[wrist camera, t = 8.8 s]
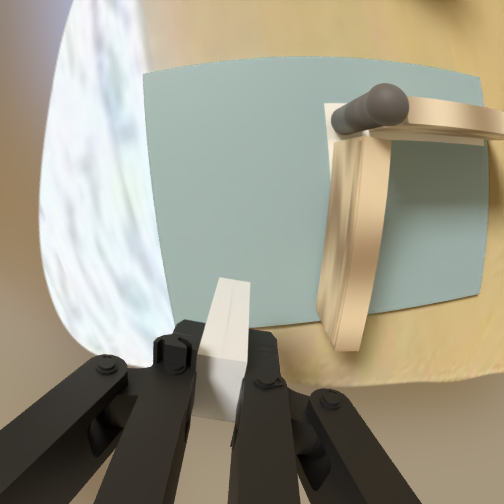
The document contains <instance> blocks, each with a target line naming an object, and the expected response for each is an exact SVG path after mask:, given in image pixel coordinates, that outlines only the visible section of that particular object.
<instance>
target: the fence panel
mask: <svg viewBox="0 0 504 504" xmlns="http://www.w3.org/2000/svg"><path fill="white" fill-rule="evenodd" d="M391 142H392V141H391V140H386V139H380V138H375V137H369V136H361V137H356V138H351V139H347V140H342V141H337V142H334V145H333V159H332V171H331V183H330V194H329V204H328V214H327V223H326V232H325V241H324V249H323V257H322V265H321V272H320V280H319V287H318V294H317V301H316V307H315V308H316V311H317V313H318V315H319V317H320V320H321V322H322V324H323V326H324V329H325V331H326V333H327V335H328V338H329V340H330V342H331V344H332V347H333V349H334V351H335V352H336V351H359V348H360V344H361V339H362V335H363V331H364V327H365V322H366V318H367V313H368V309H369V304H370V299H371V294H372V289H373V284H374V279H375V273H376V268H377V262H378V256H379V250H380V244H381V237H382V230H383V223H384V216H385V208H386V199H387V190H388V180H389V169H390V157H391Z"/></svg>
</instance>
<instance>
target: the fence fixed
mask: <svg viewBox="0 0 504 504" xmlns="http://www.w3.org/2000/svg"><path fill="white" fill-rule="evenodd" d="M331 124H332V127H333V128H334V130H335V131H336V132H338V133H339V134H342V135H349V134H353V133H357V132H361V131H365V130H369V132H402V133H421V134H436V135H448V136H459V137H468V138H477V139H485V140H504V111H500V110H495V109H491V108H486V107H481V106H476V105H470V104H465V103H459V102H453V101H446V100H439V99H431V98H423V97H414V96H406V94H405V93H404V92H403V91H402V90H401V89H400V88H399V87H397V86H396V85H393V84H390V83H381V84H378V85H375V86H374V87H373V88H371V89H370V91H369V92H367V93H365V94H363V95H362V96H360V97H358V98H356V99H354V100H353V101H351V102H349V103H347V104H345V105H344V106H342V107H340V108H338V109H336V110H335V111H334V112H333V114H332V116H331Z"/></svg>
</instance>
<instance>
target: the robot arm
mask: <svg viewBox="0 0 504 504" xmlns="http://www.w3.org/2000/svg"><path fill="white" fill-rule="evenodd" d="M249 304H250V282H245V281H239V280H233V279H227V278H221V277H219V280H218V284H217V287H216V291H215V294H214V297H213V301H212V304H211V308H210V311H209V315H208V318H207V322H206V323H203V322H197V321H192V320H186V319H184V320H182V321H181V322H179V323H178V324H176V327H175V329H174V331H173V333H172V334H170V335H163V336H161V337H158V338H157V339H156V340H155V341H154V346H153V365H152V366H151V367H148V368H140V369H135V368H127V364H126V363H125V361H124V360H123V359H121V358H119V357H117V356H114V355H106V354H103V355H98V356H95V357H93V358H91V359H90V360H89V361H87V362H86V363H84V364H83V365H82V366H81V367H79V368H78V369H77V370H76V371H74V372H73V373H72V374H70V375H69V376H68V377H67V378H65V379H64V380H63V381H62V382H60V383H59V384H58V385H57V386H55V387H54V388H53V389H51V390H50V391H49V392H48V393H46V394H45V395H44V396H43V397H41V398H40V399H39V400H38V401H36V402H35V403H34V404H33V405H32V406H30V407H29V408H28V409H26V410H25V411H24V412H23V413H21V414H20V415H19V416H18V417H17V418H15V419H14V420H13V421H11V422H10V423H9V424H8V425H7V426H5V427H4V428H3V429H1V430H0V504H69V503H70V502H71V501H72V499H73V498H74V497H75V496H76V495H77V494H78V492H79V491H80V490H81V489H82V488H83V486H84V485H85V484H86V483H87V482H88V481H89V479H90V478H91V477H92V476H93V475H94V473H95V472H96V471H97V470H98V469H99V468H100V466H101V465H102V464H103V463H104V462H105V460H106V459H107V458H108V457H109V456H110V454H111V453H112V452H113V450H115V452H114V454H113V457H112V459H111V462H110V464H109V466H108V469H107V471H106V474H105V476H104V479H103V481H102V484H101V486H100V489H99V491H98V494H97V496H96V499H95V501H94V504H174V500H175V495H176V490H177V486H178V481H179V476H180V471H181V466H182V461H183V457H184V452H185V448H186V443H187V438H188V434H189V429H190V420H191V414H192V416H196V417H203V418H208V419H214V420H221V421H228V422H235V427H234V432H233V436H232V441H231V445H230V446H231V447H232V454H231V466H230V480H229V492H228V504H300V496H299V486H298V476H299V478H300V481H301V483H302V485H303V488H304V490H305V492H306V494H307V497H308V499H309V501H310V503H311V504H422V503H421V502H420V500H419V499H418V498H417V496H416V495H415V493H414V492H413V491H412V489H411V488H410V486H409V485H408V484H407V482H406V480H405V479H404V478H403V476H402V475H401V473H400V472H399V470H398V469H397V468H396V466H395V465H394V463H393V462H392V461H391V459H390V458H389V456H388V455H387V453H386V452H385V450H384V449H383V448H382V446H381V445H380V443H379V442H378V440H377V439H376V438H375V436H374V435H373V433H372V432H371V430H370V429H369V428H368V426H367V425H366V423H365V422H364V420H363V419H362V418H361V416H360V415H359V413H358V412H357V410H356V409H355V407H354V406H353V405H352V403H351V402H350V400H349V399H348V398H347V397H346V396H345V395H344V394H342V393H340V392H339V391H336V390H332V389H318V390H315V391H314V392H313V393H312V394H311V396H307V395H303V394H300V393H297V392H295V391H293V390H291V389H289V388H288V387H287V384H286V382H285V379H283V378H282V377H281V374H280V365H279V356H278V348H277V339H276V338H275V337H274V336H273V334H272V333H271V332H266V331H259V330H252V329H249ZM235 419H236V420H235ZM115 448H116V449H115ZM297 474H298V476H297Z"/></svg>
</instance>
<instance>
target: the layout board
mask: <svg viewBox="0 0 504 504" xmlns="http://www.w3.org/2000/svg"><path fill="white" fill-rule="evenodd" d="M381 83H390V84H393V85H396V86H397V87H399V88H400V89H401V90H402V91H403V92H404V93H405V94H406V96H414V97H423V98H431V99H439V100H446V101H453V102H459V103H465V104H470V105H476V106H481V107H484V103H483V96H482V89H481V83H480V77H476V76H472V75H467V74H463V73H459V72H454V71H449V70H444V69H439V68H434V67H428V66H422V65H415V64H409V63H401V62H393V61H384V60H374V59H362V58H346V57H315V56H299V57H267V58H251V59H239V60H228V61H219V62H211V63H203V64H196V65H190V66H183V67H177V68H172V69H166V70H161V71H156V72H151V73H146V74H143V89H144V106H145V121H146V133H147V145H148V155H149V165H150V174H151V183H152V191H153V199H154V207H155V214H156V221H157V228H158V235H159V241H160V248H161V254H162V260H163V266H164V271H165V277H166V283H167V288H168V293H169V298H170V304H171V309H172V314H173V318H174V323H175V327H176V324H178V323H179V322H181V321H182V320H184V319H186V320H192V321H197V322H203V323H206V322H207V318H208V315H209V311H210V308H211V304H212V301H213V297H214V294H215V291H216V287H217V284H218V280H219V277H221V278H227V279H233V280H239V281H245V282H250V304H249V328H255V327H266V326H277V325H287V324H296V323H305V322H314V321H321V320H320V317H319V315H318V313H317V311H316V308H315V307H316V301H317V294H318V287H319V280H320V272H321V265H322V257H323V249H324V241H325V232H326V223H327V214H328V204H329V194H330V183H331V171H332V159H333V145H334V142H337V141H342V140H347V139H351V138H356V137H361V136H369V137H375V138H380V139H386V140H391V141H392V142H391V157H390V169H389V180H388V190H387V199H386V208H385V216H384V223H383V230H382V237H381V244H380V250H379V256H378V262H377V268H376V273H375V279H374V284H373V289H372V294H371V299H370V304H369V309H368V313H367V314H373V313H380V312H386V311H392V310H398V309H404V308H410V307H416V306H421V305H427V304H432V303H437V302H443V301H448V300H453V299H457V298H462V297H467V296H472V295H476V294H480V288H481V282H482V275H483V268H484V259H485V250H486V239H487V226H488V205H489V164H488V143H487V140H485V139H477V138H468V137H459V136H448V135H436V134H421V133H402V132H369V130H365V131H361V132H357V133H353V134H349V135H342V134H339V133H338V132H336V131H335V130H334V128H333V127H332V124H331V116H332V114H333V112H334V111H335V110H336V109H338V108H340V107H342V106H344V105H345V104H347V103H349V102H351V101H353V100H354V99H356V98H358V97H360V96H362V95H363V94H365V93H367V92H369V91H370V89H371V88H373V87H374V86H375V85H378V84H381Z"/></svg>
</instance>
